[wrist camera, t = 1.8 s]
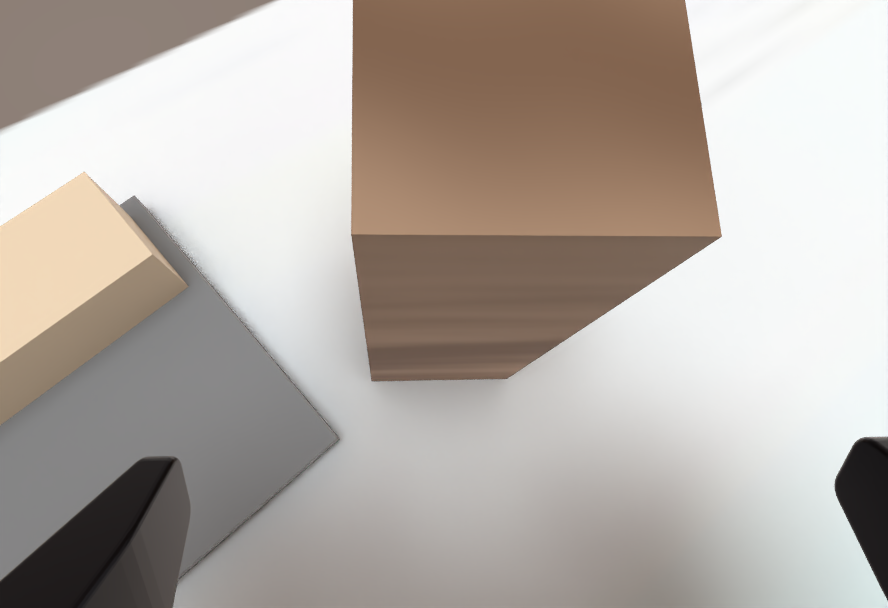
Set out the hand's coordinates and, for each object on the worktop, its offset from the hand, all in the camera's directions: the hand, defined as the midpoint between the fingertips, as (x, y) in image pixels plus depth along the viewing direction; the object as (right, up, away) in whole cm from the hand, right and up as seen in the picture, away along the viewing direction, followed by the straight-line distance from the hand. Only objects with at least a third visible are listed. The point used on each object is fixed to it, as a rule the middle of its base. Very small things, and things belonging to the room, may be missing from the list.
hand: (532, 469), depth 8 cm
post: (-1, +2, +12) cm, 12 cm away
